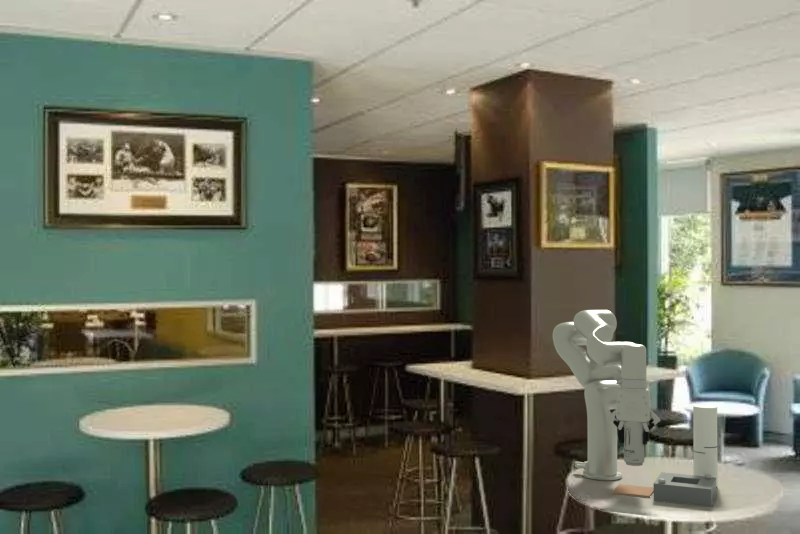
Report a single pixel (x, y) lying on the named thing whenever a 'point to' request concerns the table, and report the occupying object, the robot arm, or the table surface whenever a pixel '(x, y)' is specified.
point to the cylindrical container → (705, 440)
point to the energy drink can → (633, 443)
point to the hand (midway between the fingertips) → (634, 442)
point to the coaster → (633, 490)
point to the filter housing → (685, 489)
